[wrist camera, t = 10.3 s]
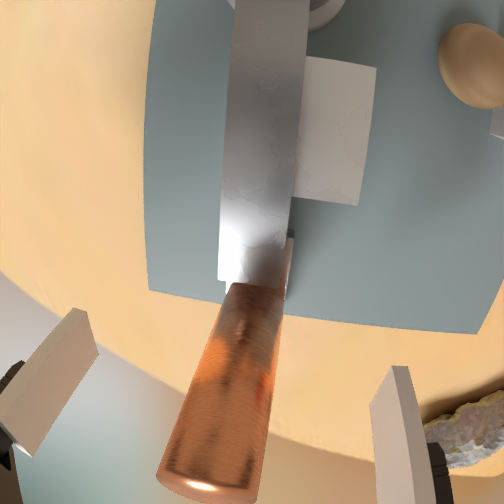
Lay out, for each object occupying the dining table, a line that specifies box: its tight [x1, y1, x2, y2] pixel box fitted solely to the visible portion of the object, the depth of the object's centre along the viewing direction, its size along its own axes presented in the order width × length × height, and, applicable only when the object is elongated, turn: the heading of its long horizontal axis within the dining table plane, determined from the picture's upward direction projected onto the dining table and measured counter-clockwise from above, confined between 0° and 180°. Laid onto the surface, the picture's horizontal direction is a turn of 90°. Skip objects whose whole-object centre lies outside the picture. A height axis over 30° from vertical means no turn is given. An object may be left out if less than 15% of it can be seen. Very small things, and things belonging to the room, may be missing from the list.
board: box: [144, 0, 504, 334], centre depth 13 cm, size 24×24×5 cm
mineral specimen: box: [423, 390, 504, 469], centre depth 21 cm, size 16×7×7 cm, turn 107°
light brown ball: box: [437, 23, 504, 110], centre depth 10 cm, size 4×4×4 cm
